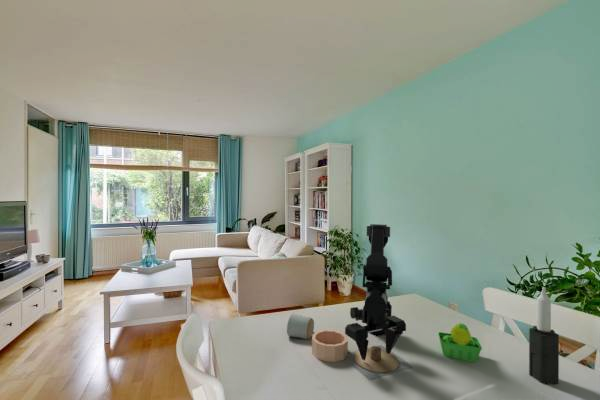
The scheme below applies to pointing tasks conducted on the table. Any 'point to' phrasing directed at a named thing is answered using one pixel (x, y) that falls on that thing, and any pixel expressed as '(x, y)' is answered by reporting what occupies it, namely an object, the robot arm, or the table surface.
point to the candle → (544, 344)
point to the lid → (377, 360)
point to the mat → (373, 375)
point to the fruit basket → (460, 344)
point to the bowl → (329, 345)
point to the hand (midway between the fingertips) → (375, 356)
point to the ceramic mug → (300, 326)
